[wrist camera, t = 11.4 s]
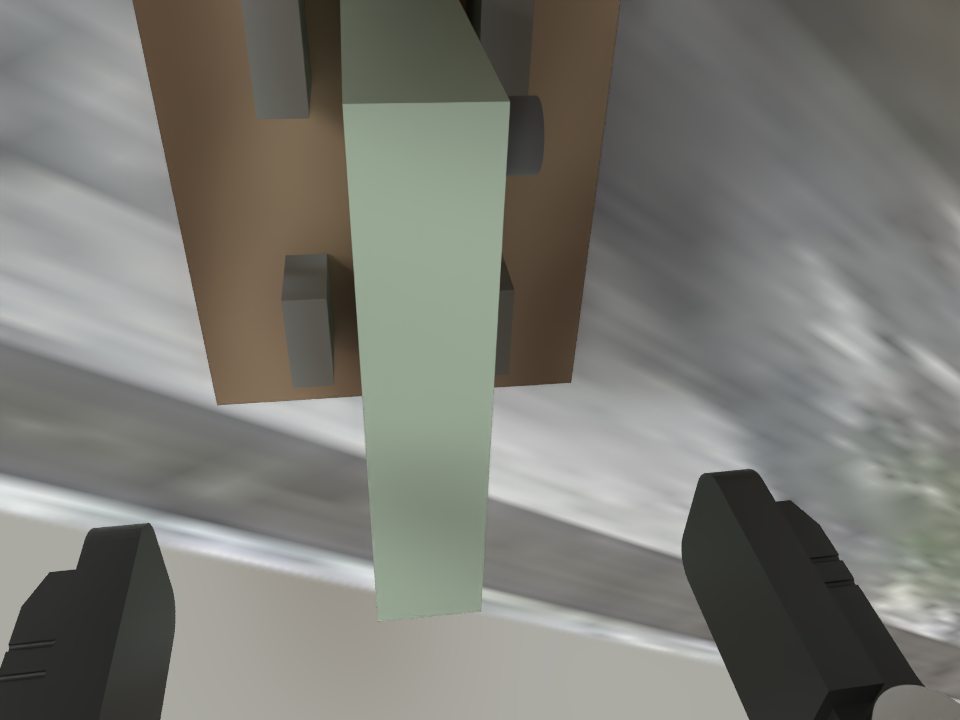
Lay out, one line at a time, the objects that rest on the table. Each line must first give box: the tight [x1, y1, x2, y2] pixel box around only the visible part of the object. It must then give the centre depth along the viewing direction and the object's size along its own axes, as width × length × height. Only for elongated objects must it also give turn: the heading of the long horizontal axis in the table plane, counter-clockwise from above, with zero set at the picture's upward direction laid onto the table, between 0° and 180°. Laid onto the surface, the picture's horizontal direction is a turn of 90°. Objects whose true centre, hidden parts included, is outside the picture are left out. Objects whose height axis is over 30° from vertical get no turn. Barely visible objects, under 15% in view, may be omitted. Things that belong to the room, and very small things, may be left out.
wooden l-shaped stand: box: [133, 0, 621, 405], centre depth 16 cm, size 12×18×17 cm, turn 178°
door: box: [340, 0, 544, 622], centre depth 19 cm, size 3×12×10 cm, turn 179°
